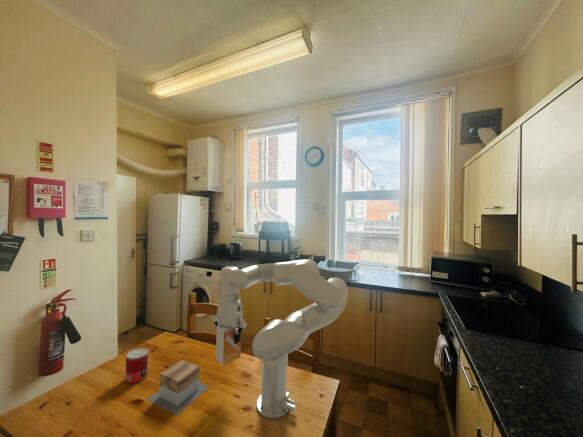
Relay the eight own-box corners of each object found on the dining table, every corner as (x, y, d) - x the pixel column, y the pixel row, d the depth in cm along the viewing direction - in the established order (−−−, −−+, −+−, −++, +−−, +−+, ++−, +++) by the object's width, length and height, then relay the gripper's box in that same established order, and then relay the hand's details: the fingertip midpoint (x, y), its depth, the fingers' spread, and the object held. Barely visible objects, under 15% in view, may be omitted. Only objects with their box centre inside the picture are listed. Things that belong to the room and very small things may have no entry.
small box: (223, 366, 91) (223, 332, 91) (215, 359, 95) (216, 326, 95) (241, 357, 96) (241, 326, 96) (233, 351, 101) (233, 321, 101)
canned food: (145, 382, 99) (146, 356, 99) (122, 386, 96) (123, 359, 96) (148, 371, 106) (149, 346, 106) (127, 374, 103) (128, 349, 103)
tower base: (198, 388, 95) (199, 377, 95) (177, 406, 86) (178, 393, 86) (181, 381, 100) (181, 370, 100) (159, 396, 90) (159, 385, 91)
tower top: (199, 377, 95) (199, 366, 95) (178, 393, 86) (178, 381, 86) (181, 370, 100) (182, 359, 100) (159, 385, 91) (160, 373, 91)
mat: (209, 387, 97) (209, 386, 97) (176, 416, 82) (176, 415, 82) (182, 376, 104) (182, 374, 104) (146, 400, 89) (146, 399, 89)
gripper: (252, 297, 96) (251, 340, 96) (219, 291, 103) (218, 331, 103) (241, 303, 89) (240, 349, 89) (206, 296, 96) (205, 339, 96)
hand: (228, 339), depth 96 cm, fingers closed on small box, 8 cm apart
